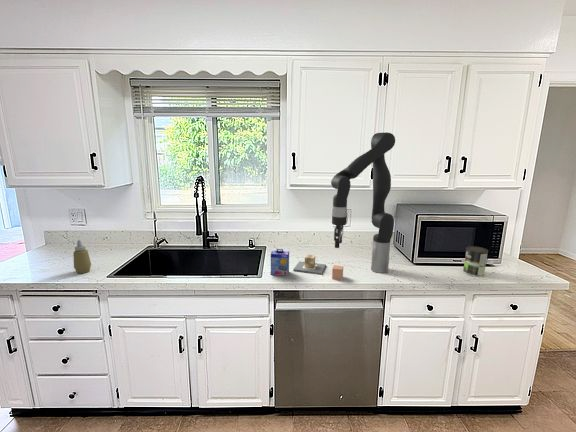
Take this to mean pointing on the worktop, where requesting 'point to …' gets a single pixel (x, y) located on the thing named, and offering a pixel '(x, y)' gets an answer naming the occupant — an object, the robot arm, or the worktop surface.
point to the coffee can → (475, 261)
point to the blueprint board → (316, 270)
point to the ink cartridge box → (279, 262)
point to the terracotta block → (337, 272)
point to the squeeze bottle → (81, 259)
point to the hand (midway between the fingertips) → (338, 245)
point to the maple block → (310, 261)
